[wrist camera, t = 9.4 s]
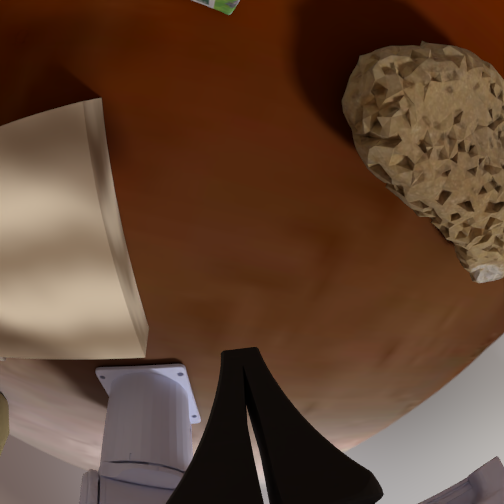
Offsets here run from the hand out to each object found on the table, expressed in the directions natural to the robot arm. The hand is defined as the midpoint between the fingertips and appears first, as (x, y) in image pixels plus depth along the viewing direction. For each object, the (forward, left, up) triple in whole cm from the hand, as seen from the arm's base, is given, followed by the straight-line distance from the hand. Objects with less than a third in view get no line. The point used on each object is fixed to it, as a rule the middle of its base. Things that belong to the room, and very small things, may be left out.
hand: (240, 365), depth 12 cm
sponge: (+6, -16, -10) cm, 20 cm away
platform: (+2, +13, -9) cm, 16 cm away
